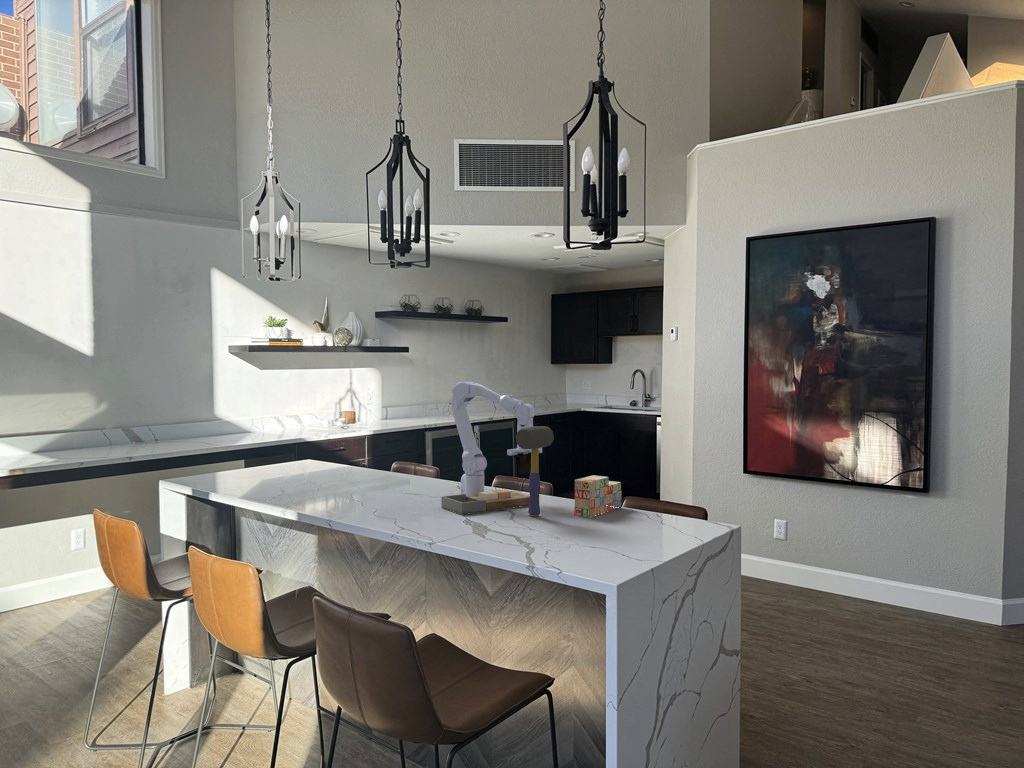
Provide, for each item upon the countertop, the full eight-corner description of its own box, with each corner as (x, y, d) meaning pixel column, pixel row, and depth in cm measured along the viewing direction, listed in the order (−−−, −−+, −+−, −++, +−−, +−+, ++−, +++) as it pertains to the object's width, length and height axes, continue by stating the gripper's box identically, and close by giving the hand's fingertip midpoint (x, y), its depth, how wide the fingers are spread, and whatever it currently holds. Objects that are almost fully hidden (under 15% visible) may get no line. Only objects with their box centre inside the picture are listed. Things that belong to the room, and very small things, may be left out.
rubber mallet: (530, 520, 229) (531, 428, 228) (513, 517, 234) (514, 426, 233) (554, 515, 238) (555, 425, 237) (538, 511, 243) (538, 424, 242)
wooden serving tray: (465, 504, 254) (465, 496, 254) (511, 499, 266) (511, 491, 266) (487, 511, 243) (487, 502, 243) (533, 505, 254) (533, 496, 254)
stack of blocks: (606, 506, 255) (606, 471, 254) (621, 508, 251) (622, 473, 251) (574, 515, 238) (574, 479, 238) (590, 518, 234) (590, 481, 234)
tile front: (478, 497, 252) (478, 492, 252) (490, 496, 255) (490, 490, 255) (486, 499, 248) (486, 494, 248) (497, 498, 251) (498, 492, 251)
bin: (441, 507, 249) (441, 496, 249) (465, 504, 254) (465, 493, 254) (462, 514, 237) (462, 502, 237) (486, 511, 243) (486, 499, 243)
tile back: (491, 496, 255) (491, 490, 255) (502, 494, 258) (502, 489, 258) (499, 498, 251) (499, 492, 251) (510, 496, 254) (510, 491, 254)
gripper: (515, 438, 253) (514, 476, 253) (547, 436, 261) (547, 473, 261) (504, 437, 258) (503, 474, 259) (535, 435, 267) (535, 471, 267)
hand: (524, 473), depth 260 cm, fingers closed
